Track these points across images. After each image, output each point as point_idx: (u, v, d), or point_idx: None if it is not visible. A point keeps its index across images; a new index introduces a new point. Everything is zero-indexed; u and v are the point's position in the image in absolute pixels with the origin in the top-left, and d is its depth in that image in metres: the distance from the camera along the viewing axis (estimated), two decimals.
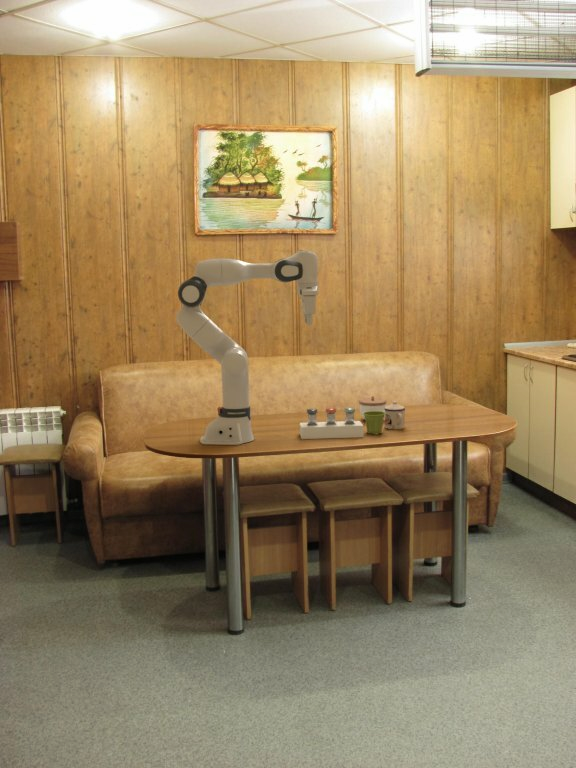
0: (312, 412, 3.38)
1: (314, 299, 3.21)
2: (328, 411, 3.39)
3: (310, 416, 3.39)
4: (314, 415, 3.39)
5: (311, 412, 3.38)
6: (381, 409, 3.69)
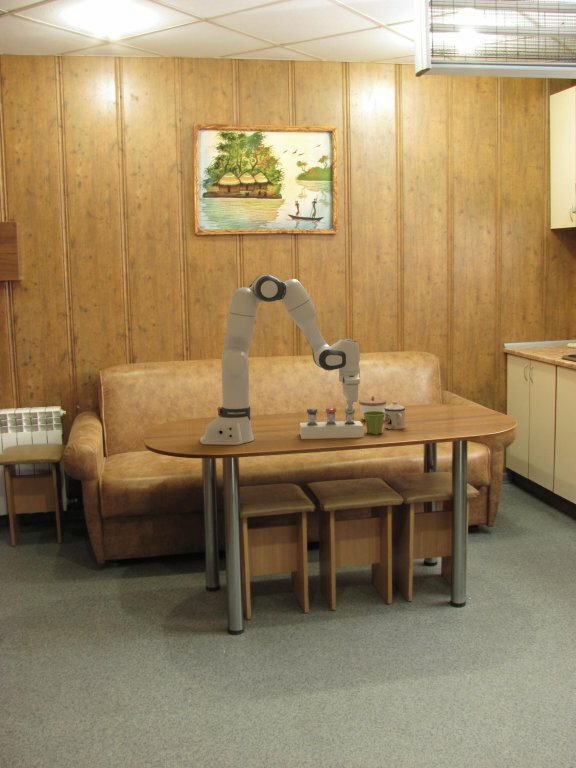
0: (312, 412, 3.38)
1: (357, 388, 3.31)
2: (328, 411, 3.39)
3: (310, 416, 3.39)
4: (314, 415, 3.39)
5: (311, 412, 3.38)
6: (381, 409, 3.69)
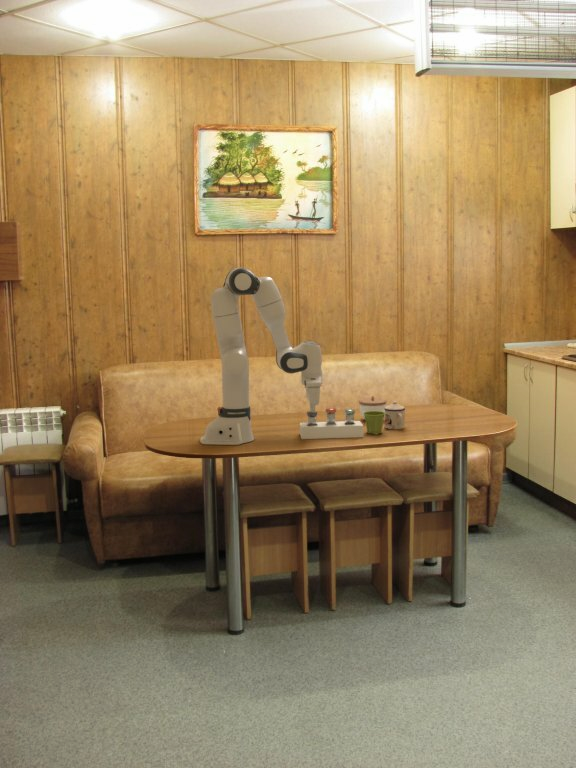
0: (312, 414, 3.38)
1: (318, 390, 3.30)
2: (328, 411, 3.39)
3: (310, 418, 3.39)
4: (314, 417, 3.39)
5: (311, 414, 3.38)
6: (381, 409, 3.69)
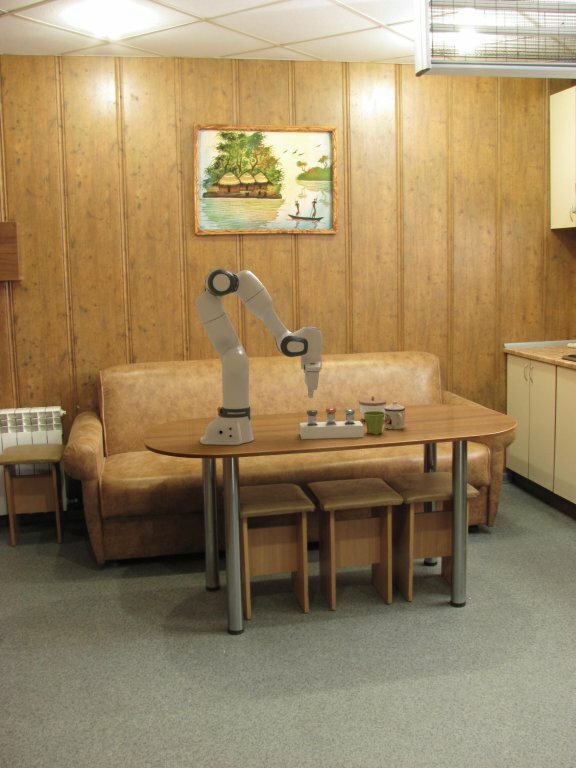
0: (312, 413, 3.38)
1: (317, 375, 3.29)
2: (328, 411, 3.39)
3: (310, 417, 3.39)
4: (314, 416, 3.39)
5: (311, 413, 3.38)
6: (381, 409, 3.69)
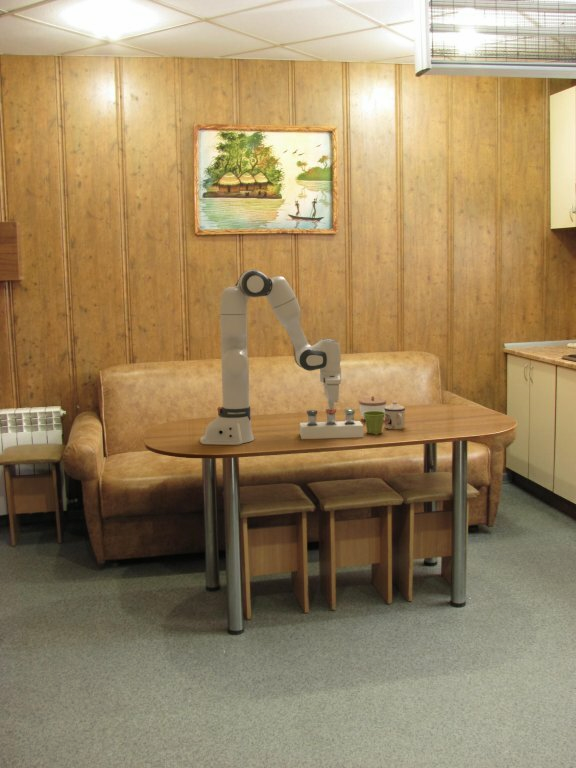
0: (312, 413, 3.38)
1: (337, 388, 3.30)
2: (328, 412, 3.39)
3: (310, 417, 3.39)
4: (314, 416, 3.39)
5: (311, 413, 3.38)
6: (381, 409, 3.69)
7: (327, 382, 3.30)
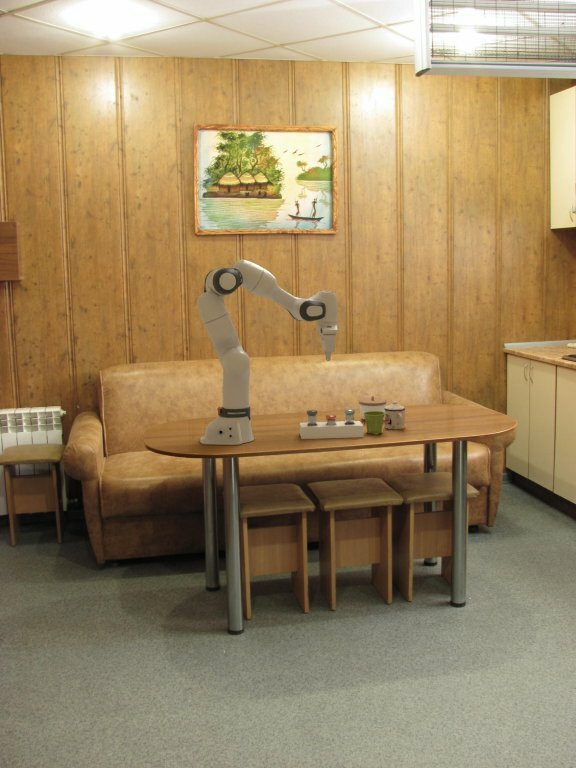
0: (312, 413, 3.38)
1: (334, 338, 3.36)
2: (328, 418, 3.39)
3: (310, 417, 3.39)
4: (314, 416, 3.39)
5: (311, 413, 3.38)
6: (381, 409, 3.69)
7: (324, 332, 3.36)
